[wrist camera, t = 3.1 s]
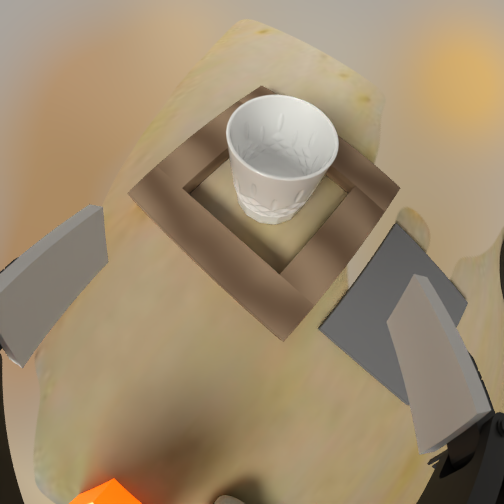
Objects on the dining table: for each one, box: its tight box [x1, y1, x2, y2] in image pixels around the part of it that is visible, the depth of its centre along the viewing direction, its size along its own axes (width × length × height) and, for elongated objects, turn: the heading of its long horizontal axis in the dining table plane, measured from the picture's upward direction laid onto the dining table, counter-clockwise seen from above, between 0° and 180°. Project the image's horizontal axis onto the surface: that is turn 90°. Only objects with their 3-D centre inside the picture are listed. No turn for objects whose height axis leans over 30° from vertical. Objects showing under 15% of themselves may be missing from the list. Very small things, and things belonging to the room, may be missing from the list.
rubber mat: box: [318, 223, 468, 405], centre depth 24 cm, size 14×14×1 cm
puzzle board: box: [128, 86, 400, 341], centre depth 26 cm, size 20×20×2 cm
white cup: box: [226, 95, 339, 224], centre depth 22 cm, size 8×8×10 cm
